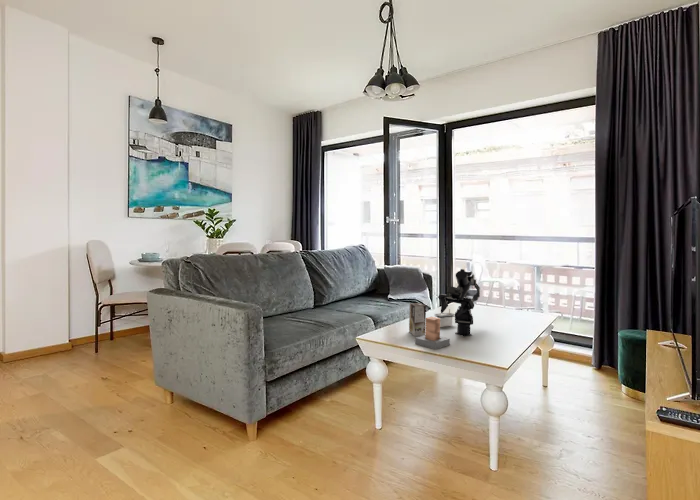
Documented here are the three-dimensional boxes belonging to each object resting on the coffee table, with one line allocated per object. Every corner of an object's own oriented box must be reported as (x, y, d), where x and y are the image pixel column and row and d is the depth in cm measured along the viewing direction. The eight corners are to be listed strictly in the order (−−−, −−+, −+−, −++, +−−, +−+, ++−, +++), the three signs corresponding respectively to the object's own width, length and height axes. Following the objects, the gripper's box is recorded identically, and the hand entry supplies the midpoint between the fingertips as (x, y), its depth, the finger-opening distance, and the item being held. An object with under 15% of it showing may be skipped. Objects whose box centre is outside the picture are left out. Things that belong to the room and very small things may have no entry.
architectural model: (417, 324, 238) (417, 308, 238) (450, 320, 249) (451, 305, 248) (437, 332, 221) (437, 314, 220) (472, 328, 231) (473, 311, 230)
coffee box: (425, 335, 211) (426, 305, 211) (414, 336, 210) (414, 306, 210) (419, 331, 220) (420, 302, 220) (408, 331, 219) (409, 302, 218)
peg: (431, 342, 200) (431, 316, 199) (439, 344, 196) (440, 318, 196) (425, 344, 197) (425, 318, 196) (433, 346, 193) (434, 319, 192)
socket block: (429, 339, 205) (429, 333, 205) (449, 344, 196) (449, 338, 196) (415, 343, 197) (415, 337, 197) (435, 349, 188) (435, 343, 188)
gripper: (440, 278, 212) (427, 301, 205) (472, 282, 198) (459, 307, 191) (448, 292, 218) (436, 314, 211) (479, 296, 204) (467, 321, 197)
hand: (448, 314), depth 202 cm, fingers open, 9 cm apart
